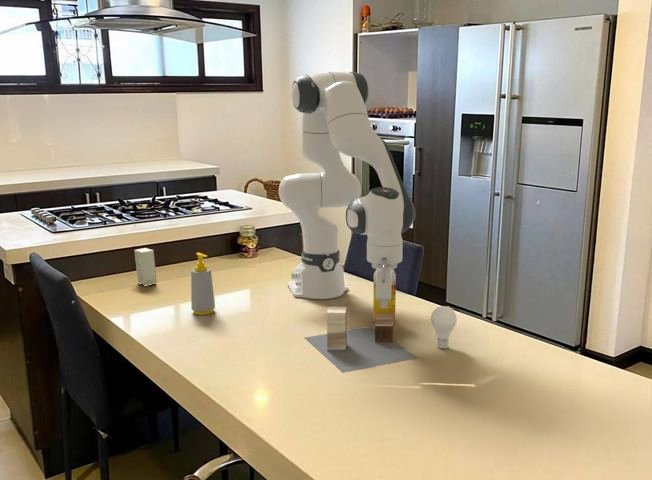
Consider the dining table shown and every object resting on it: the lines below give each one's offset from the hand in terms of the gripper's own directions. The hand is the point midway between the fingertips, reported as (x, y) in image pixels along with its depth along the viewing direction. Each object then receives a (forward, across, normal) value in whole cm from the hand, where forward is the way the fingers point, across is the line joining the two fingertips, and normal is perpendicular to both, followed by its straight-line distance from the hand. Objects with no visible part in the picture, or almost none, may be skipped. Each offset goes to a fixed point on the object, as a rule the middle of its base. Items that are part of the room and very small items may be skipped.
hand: (383, 306), depth 160 cm
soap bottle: (+10, +20, +54) cm, 58 cm away
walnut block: (+7, -1, 0) cm, 7 cm away
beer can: (+10, +15, 0) cm, 18 cm away
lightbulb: (+10, -3, -15) cm, 18 cm away
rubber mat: (+10, -5, +6) cm, 12 cm away
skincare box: (+11, +47, +82) cm, 95 cm away
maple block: (+9, -6, +11) cm, 16 cm away
